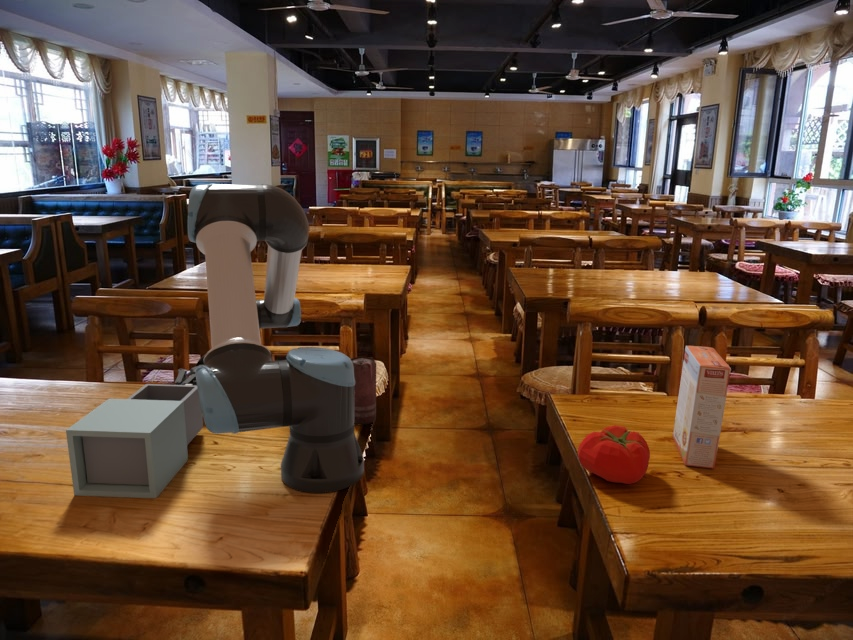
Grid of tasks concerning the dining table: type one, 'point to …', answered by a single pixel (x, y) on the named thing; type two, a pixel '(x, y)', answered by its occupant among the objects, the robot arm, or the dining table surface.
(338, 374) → the robot arm
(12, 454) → the dining table surface
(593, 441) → the tomato
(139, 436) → the sleeve
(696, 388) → the cracker box
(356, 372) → the can
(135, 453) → the tray
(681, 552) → the dining table surface
